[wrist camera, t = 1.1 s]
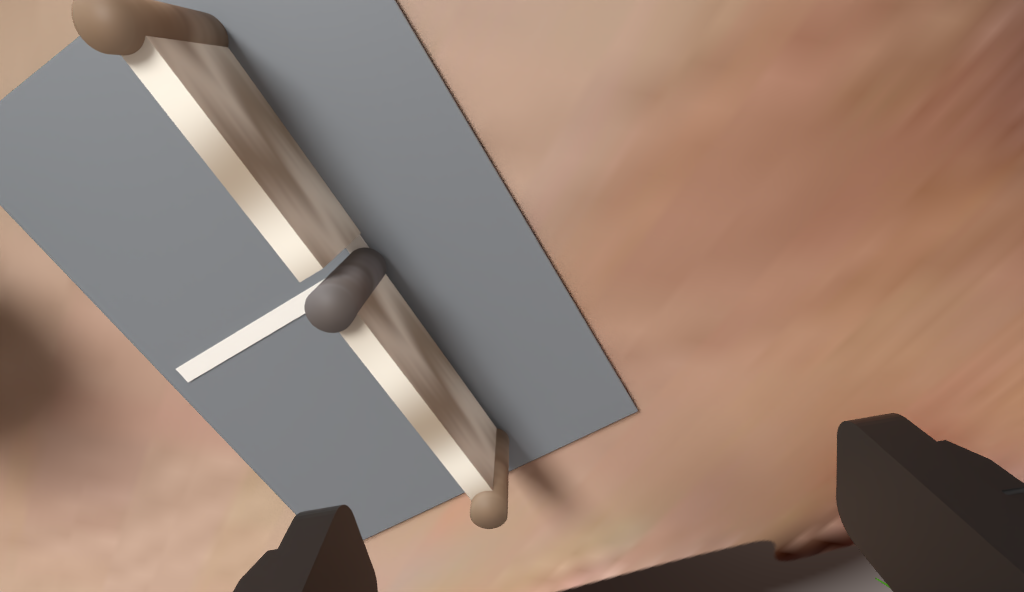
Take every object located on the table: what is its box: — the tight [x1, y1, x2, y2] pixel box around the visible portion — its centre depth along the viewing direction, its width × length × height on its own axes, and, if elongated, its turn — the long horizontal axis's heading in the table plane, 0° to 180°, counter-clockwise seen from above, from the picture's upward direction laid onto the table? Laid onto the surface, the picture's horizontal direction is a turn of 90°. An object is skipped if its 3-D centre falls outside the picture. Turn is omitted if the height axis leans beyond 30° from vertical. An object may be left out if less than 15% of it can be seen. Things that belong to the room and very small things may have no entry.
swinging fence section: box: [304, 247, 509, 529], centre depth 26 cm, size 14×2×6 cm, turn 31°
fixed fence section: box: [72, 0, 361, 282], centre depth 22 cm, size 12×2×6 cm, turn 31°
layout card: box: [0, 0, 638, 540], centre depth 27 cm, size 22×30×1 cm
